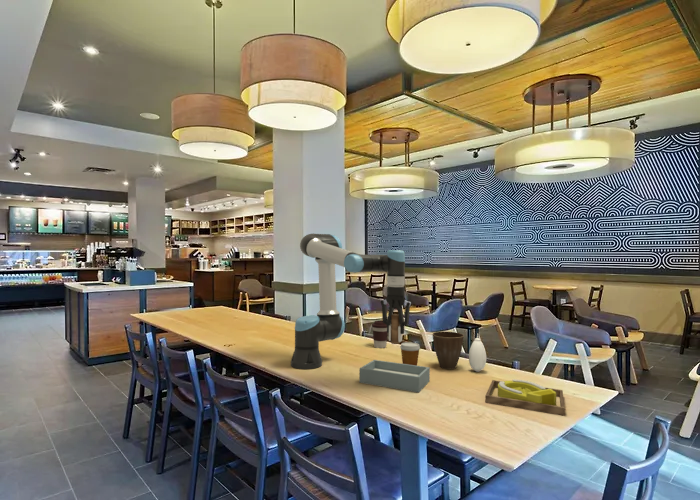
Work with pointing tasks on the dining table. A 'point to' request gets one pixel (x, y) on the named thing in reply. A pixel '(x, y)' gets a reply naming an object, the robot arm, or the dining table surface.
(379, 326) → the coffee cup
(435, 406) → the dining table surface
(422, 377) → the tray
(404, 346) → the disposable coffee cup
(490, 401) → the brown wooden frame
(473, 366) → the white bulb air blower
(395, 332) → the dowel
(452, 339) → the plant pot
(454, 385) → the dining table surface
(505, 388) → the yellow-green curved block
